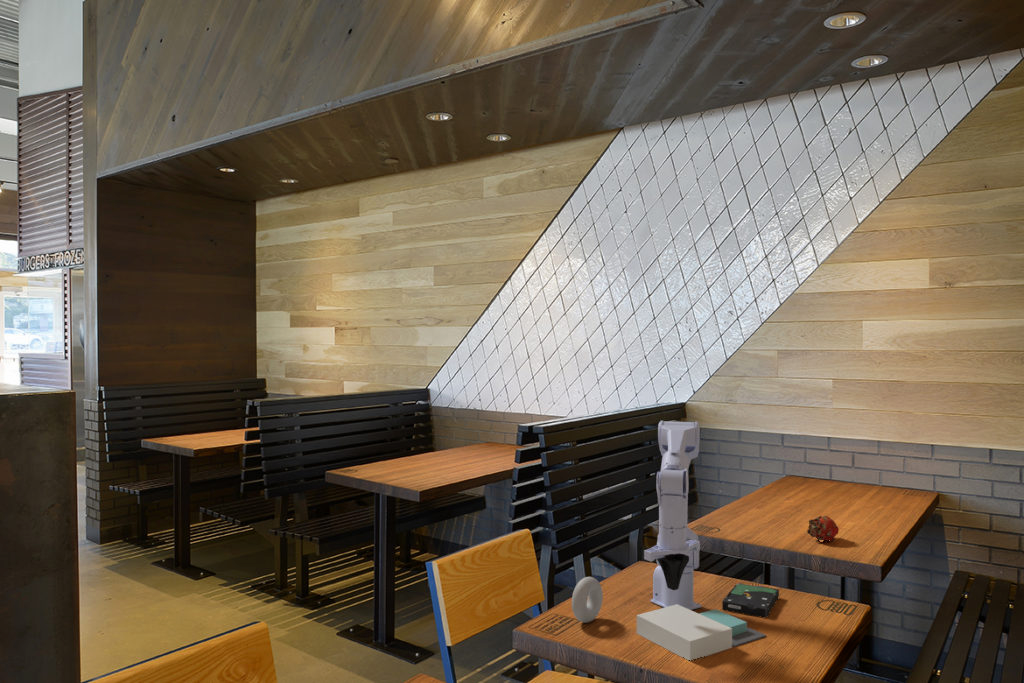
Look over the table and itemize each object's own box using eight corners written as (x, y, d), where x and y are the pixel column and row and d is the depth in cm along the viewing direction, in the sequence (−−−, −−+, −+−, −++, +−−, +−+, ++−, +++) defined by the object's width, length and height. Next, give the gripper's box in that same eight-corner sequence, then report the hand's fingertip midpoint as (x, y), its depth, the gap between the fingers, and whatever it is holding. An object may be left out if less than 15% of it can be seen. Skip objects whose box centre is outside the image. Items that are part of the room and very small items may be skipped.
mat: (678, 621, 167) (678, 620, 167) (710, 612, 172) (710, 611, 172) (733, 647, 153) (733, 645, 153) (766, 636, 158) (766, 635, 158)
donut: (593, 613, 172) (593, 570, 172) (605, 616, 170) (605, 573, 170) (568, 626, 164) (568, 581, 164) (581, 630, 162) (581, 585, 162)
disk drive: (767, 621, 168) (779, 599, 181) (767, 609, 168) (779, 588, 181) (721, 612, 173) (736, 592, 186) (721, 601, 173) (736, 581, 186)
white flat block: (636, 633, 160) (636, 615, 160) (677, 621, 166) (677, 604, 166) (690, 661, 147) (689, 641, 146) (732, 647, 153) (732, 628, 153)
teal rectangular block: (715, 609, 168) (715, 617, 168) (696, 614, 165) (696, 623, 165) (746, 622, 160) (746, 631, 160) (727, 628, 157) (727, 637, 157)
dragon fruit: (814, 550, 225) (825, 547, 234) (838, 537, 221) (849, 534, 230) (798, 525, 229) (810, 522, 238) (822, 511, 225) (833, 510, 234)
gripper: (660, 534, 151) (660, 600, 151) (710, 524, 159) (710, 587, 159) (637, 527, 157) (637, 590, 157) (686, 517, 165) (686, 578, 165)
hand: (672, 588), depth 158 cm, fingers closed
